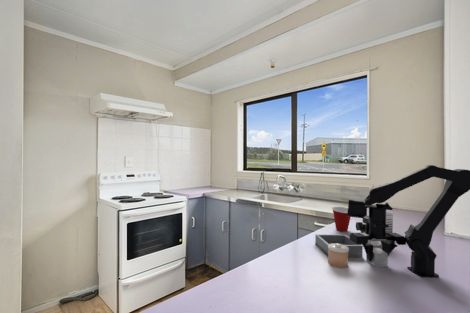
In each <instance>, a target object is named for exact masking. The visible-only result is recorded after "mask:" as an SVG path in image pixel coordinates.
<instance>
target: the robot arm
mask: <svg viewBox="0 0 470 313" xmlns="http://www.w3.org/2000/svg"><path fill="white" fill-rule="evenodd" d="M431 178H438V179H441V180H445V181H444V186H443V190H442V191H441V193H440V194H439V196H438V197H437V199H436V200H435V201H434V203H432V206H431V207H430V208H429V210H428V211H427V213H426V214H425V216H424V217H423V218H422V219H421V221H420V223H417V225H413V224H410V225H409V226H408V228H407V230H406V231H405V232H403V233H404V234H405V235H404V236H403V235H401V234H400V233H397V232H393V233H386V228H389V225H388V224H386V210H389V211H393V206H391V205H390V204H389V203H388V202H386V201H388V200H389V199H391V198H393V197H394V196H395V195H396V194H398V193H399V192H401V191H403V190H406V189H409V188H410V187H413V186H415V185H418V184H420V183H422V182H424V181H426V180H427V181H428V180H429V179H431ZM469 191H470V170H469V169H462V168H456V169H449V168H444V167H441V166H440V167H439V166H437V165H432V164H427V165H425V166H424V167H422V168H420V169H417V170H416V171H413V172H411V173H409V174H406V175H405V176H402V177H400V178H398V179H396V180H393V181H391V182H386V183H382V184H379V185H376V186H372V187H371V188H370V189H369V191H368V195H367V196H366V197H365V198H364V199H363V200H355V199H348V205H347V208H348V217H350V218H358V219H363V218H364V217H365V216H369V221H367V222H366V224H363V223H362V222H363V221H357V222H355V230H356V231H360V232H350V234H349V237H350V240H351V241H353V242H354V243H356V244H358V245H362V246H363V249H364V252H365V254H366V255H367V257H368V260H369V261H370V262H371V260H372V255H373V248H375V247H374V245H372V244H371V241H381V244H382V245H381V250H383V251H385V252H386V253H388V257H389V256H390V255H391V253H392V252H393V250H394V249H395V248H398V246H402V245H403V246H406V245H407V247H408V248H409V249H410V250H411V254H410V266H407V267H406V268H407V269H408V270H409V271H411V272H413V273H414V274H415V275H418V276H419V277H422V278H426V277H427V278H433V277H434V278H437V277H440V275H439V273H436V272H435V269H436V266H435V265H436V264H435V262H436V258H437V256H438V255H437V254H436V253H435V251H434V250H433V249H432V248H431V246H430V245H431V242H432V239H433V236H434V235H433V234H434V232H435V230H436V229H437V228H438V226H439V224H441V222H442V221H443V219H444V218H445V217H446V215H447V213H448V212H449V211H450V210H451V209H452V207H453V205H455V204H456V202H457V200H458V199H459V198H460V197H462V195H463V196H464V195H465V194H466V193H468V192H469ZM374 204H375V205H374ZM364 232H365V234H368V235H369V236H365V235H363V234H361V233H364Z"/></svg>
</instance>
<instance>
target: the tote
mask: <svg viewBox="0 0 470 313" xmlns="http://www.w3.org/2000/svg"><path fill="white" fill-rule="evenodd" d="M314 236H315V243H314V244H315V245H316V247H317V248H319V250H321V251H322V252H323V253H324V254H325V255H326V256H327V257H328V245H329V244H333V243H339V244H342V245H345V246H347V247H348V248H349V252H348V258H363V253H364V252H363V249H364V247H363V245H358V244H356V243H354V242H353V241H351V240H350V236H348V235H347V234H325V233H324V234H321V233H320V234H318V233H317V234H315V235H314Z"/></svg>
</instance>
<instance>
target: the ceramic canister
mask: <svg viewBox="0 0 470 313" xmlns="http://www.w3.org/2000/svg"><path fill="white" fill-rule="evenodd" d="M348 252H349V248H348V247H347V246H345V245H342V244H339V243H333V244H329V245H328V256H327V258H328V260H327V262H328V265H329V266H332V267H334V268H337V267H338V269H345V268H347V267H349V257H348Z"/></svg>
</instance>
